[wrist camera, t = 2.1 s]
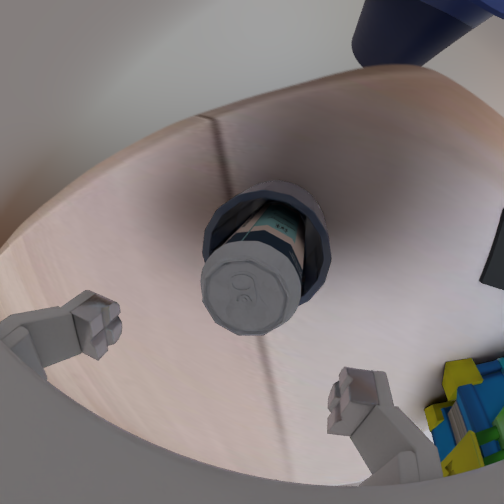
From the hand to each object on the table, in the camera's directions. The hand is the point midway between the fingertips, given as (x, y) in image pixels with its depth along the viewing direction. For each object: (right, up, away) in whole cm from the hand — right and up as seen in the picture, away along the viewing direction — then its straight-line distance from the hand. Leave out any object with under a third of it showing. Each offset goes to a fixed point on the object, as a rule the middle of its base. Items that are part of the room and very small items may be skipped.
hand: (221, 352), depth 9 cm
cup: (+3, +5, +14) cm, 16 cm away
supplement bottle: (+3, +5, +14) cm, 16 cm away
